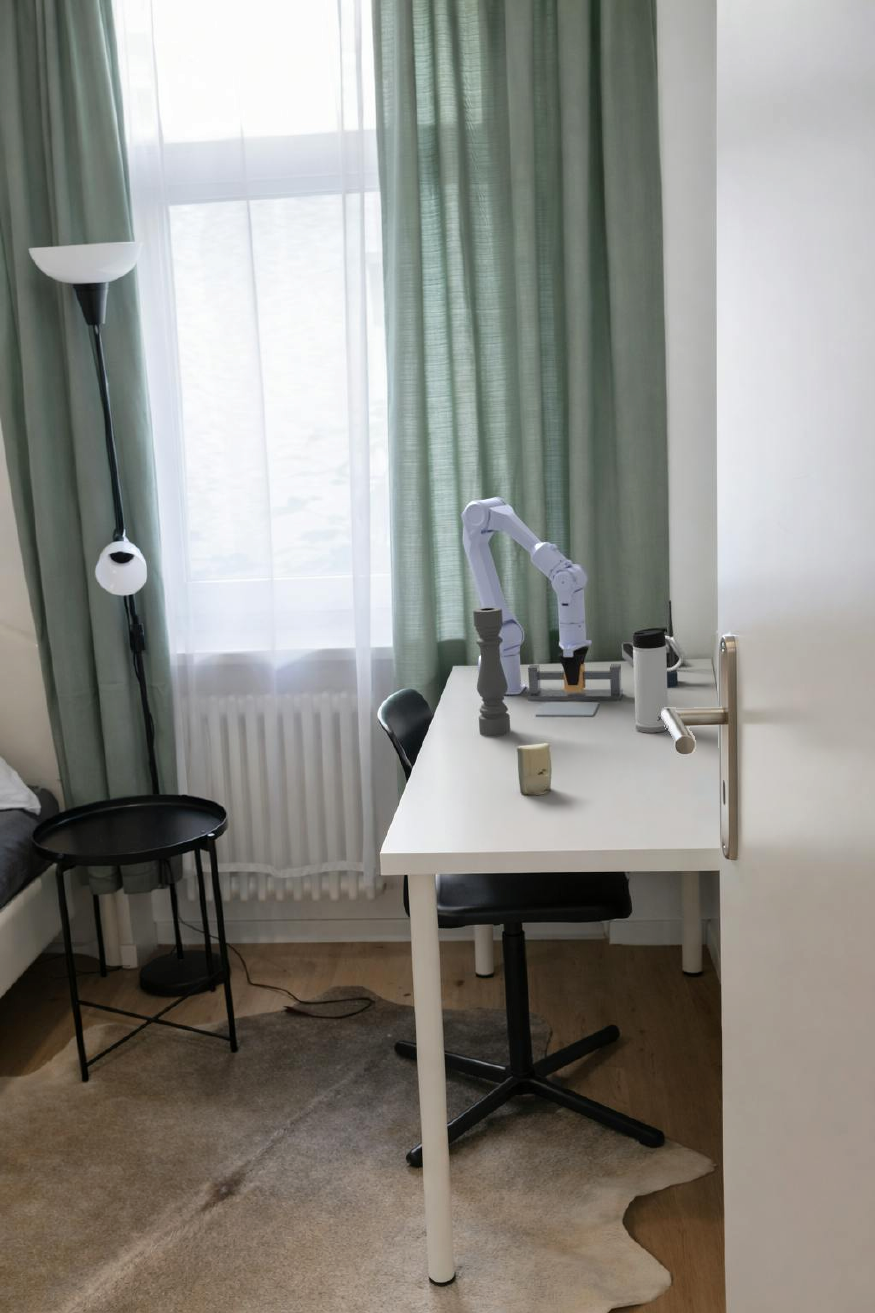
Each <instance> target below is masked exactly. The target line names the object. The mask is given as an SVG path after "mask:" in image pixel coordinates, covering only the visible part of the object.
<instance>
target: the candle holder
mask: <svg viewBox="0 0 875 1313" xmlns="http://www.w3.org/2000/svg"><path fill="white" fill-rule="evenodd" d="M472 614H473V616H472V618H473V627H475V631H476V632H477V634H478V636H479V637H478V638H477V639H476V641H475V643H476V644H477V645H478V646H479V652H480V653H479V654H480V655H481V664H480V670H479V672H478V676H477V677H478V678H477V683H476V691H477V693H478V695H479V697H481V700H482V702H483V703H482V704H481V707H479V712H480V714H479V716H478V727H479V734H480V735H481V736H484V737H500V736H505V735H508V734H510V733H511V720H510V719H511V717H510V714H509V713H508V711H509V707H508V706H507V705H506V703H505V702H504V700H505V698H504V697H505V695H507V694H506V692H507V689H508V684H507V681H506V678H505V674H504V671H503V668H502V664H501V661H500V644H501V643H502V641H503V639H502V638H501V637H499V633H500V630H501V629H502V627H501V626H502V625H503V619H502V608H500V607H482V606H481V607H477V608H474V609H472ZM480 655H479V656H480Z"/></svg>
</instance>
